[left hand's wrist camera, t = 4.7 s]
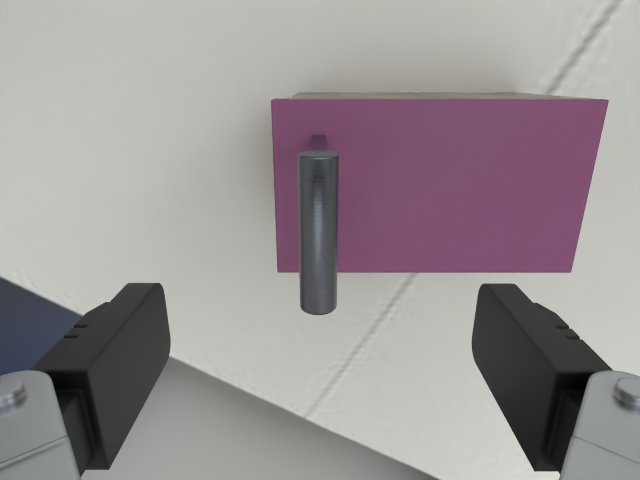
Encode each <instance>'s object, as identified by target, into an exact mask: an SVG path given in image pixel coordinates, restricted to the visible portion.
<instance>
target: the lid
mask: <svg viewBox="0 0 640 480" xmlns="http://www.w3.org/2000/svg"><path fill="white" fill-rule="evenodd" d="M607 106H608V100H604V99H273V100H271V108H272V135H273V162H274V189H275V216H276V243H277V270H278V272H300V306H301V309H302V310H303V311H304V312H306V313H309V314H313V315H324V314H328V313H331V312H332V311H334V310H335V308H336V306H337V272H498V273H570V272H571V270H572V265H573V261H574V256H575V251H576V247H577V242H578V238H579V233H580V229H581V224H582V220H583V215H584V210H585V206H586V201H587V197H588V192H589V188H590V183H591V179H592V174H593V170H594V165H595V160H596V156H597V151H598V147H599V142H600V138H601V133H602V129H603V124H604V119H605V115H606V110H607Z"/></svg>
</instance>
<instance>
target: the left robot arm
mask: <svg viewBox="0 0 640 480" xmlns="http://www.w3.org/2000/svg"><path fill="white" fill-rule="evenodd" d="M472 352H473V357H474V360H475V363H476V365H477V367H478V368H479V370H480V372H481V374H482V376H483V378H484V379H485V381H486V383H487V385H488V387H489V389H490V390H491V392H492V394H493V396H494V398H495V400H496V401H497V403H498V405H499V407H500V409H501V411H502V412H503V414H504V416H505V418H506V420H507V422H508V423H509V425H510V427H511V429H512V431H513V433H514V434H515V436H516V438H517V440H518V442H519V444H520V445H521V447H522V449H523V451H524V453H525V455H526V456H527V458H528V460H529V462H530V464H531V466H532V467H533V469H534V471H559V473H560V478H559V480H640V376H637V375H634V374H630V373H626V372H621V371H613V370H612V369H611V368H610V367H609V366H608V365H607V364H606V363H605V362H604V361H603V360H602V359H601V358H600V357H599V356H598V355H597V354H596V353H595V352H594V351H593V350H592V349H591V348H590V347H589V346H588V345H587V344H586V343H585V342H584V341H583V340H580V338H579V336H578V335H577V334H576V333H575V332H574V331H573V330H572V329H569V326H568V325H567V324H566V323H565V322H564V321H563V320H562V319H561V318H560V317H559V316H558V315H557V314H556V313H554V312H552V311H551V310H549V309H547V308H545V307H543V306H542V305H540V304H538V303H533V302H532V301H531V300H530V299H529V298H528V297H527V296H526V295H525V294H524V293H523V292H522V291H521V290H520V289H519V288H518V287H517V286H516V285H515V284H482V285H481V287H480V289H479V292H478V299H477V306H476V313H475V320H474V327H473V334H472ZM169 353H170V331H169V324H168V317H167V310H166V302H165V295H164V290H163V287H162V285H161V284H160V283H128V284H127V285H125V287H124V288H123V289H122V290H121V291H120V292H119V293H118V294H117V295H116V296H115V297H114V298H113V299H112V300H111V302H105V303H103V304H102V305H100V306H98V307H96V308H94V309H93V310H91V311H89V312H87V313H86V314H85V315H84V316H83V317H82V318H81V319H80V320H79V321H78V322H77V323H76V324H75V325H74V328H71V329H70V330H69V331H68V332H67V333H66V334H65V335H64V338H63V339H60V340H59V341H58V342H57V343H56V344H55V345H54V346H53V347H52V348H51V349H50V350H49V351H48V352H47V353H46V354H45V355H44V356H43V357H42V358H41V359H40V360H39V361H38V362H37V363H36V364H35V365H34V366H33V367H32V368H31V369H30V370H29V371H19V372H14V373H10V374H7V375H3V376H0V480H81V476H82V474H83V473H84V471H85V470H109V468H110V467H111V465H112V463H113V461H114V459H115V457H116V455H117V454H118V452H119V450H120V448H121V446H122V444H123V442H124V441H125V439H126V437H127V435H128V433H129V431H130V429H131V428H132V426H133V424H134V422H135V420H136V418H137V417H138V415H139V413H140V411H141V409H142V407H143V405H144V403H145V402H146V400H147V398H148V396H149V394H150V392H151V391H152V389H153V387H154V385H155V383H156V381H157V379H158V377H159V376H160V374H161V372H162V370H163V368H164V366H165V365H166V363H167V360H168V357H169Z"/></svg>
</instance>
